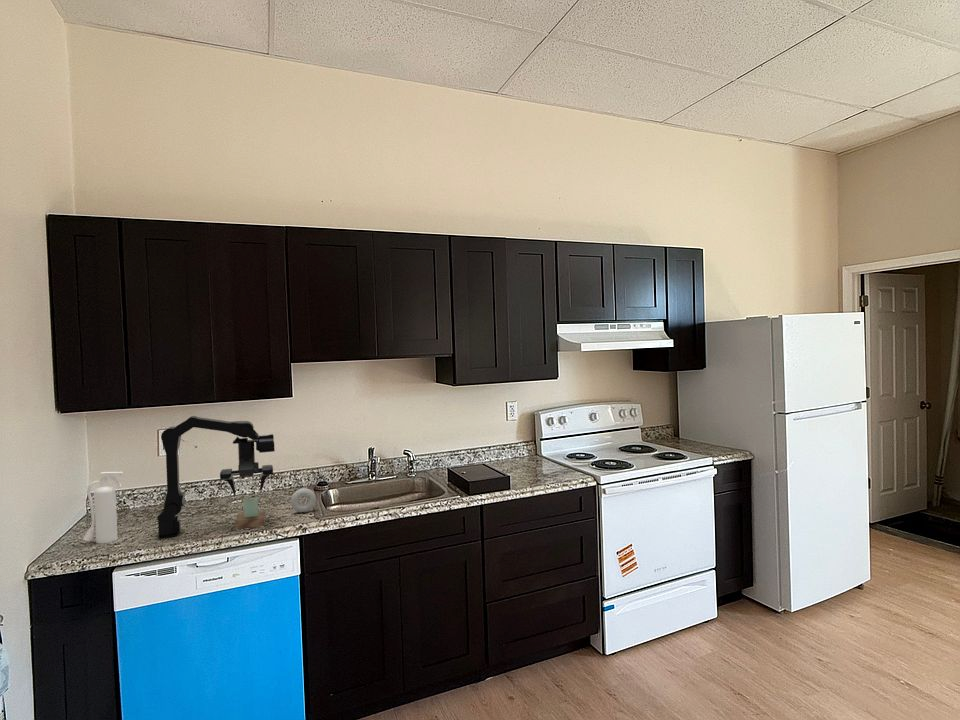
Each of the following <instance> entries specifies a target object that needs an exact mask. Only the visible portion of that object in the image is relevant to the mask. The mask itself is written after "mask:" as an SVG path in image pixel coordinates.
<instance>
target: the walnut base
mask: <svg viewBox="0 0 960 720" xmlns="http://www.w3.org/2000/svg"><path fill="white" fill-rule="evenodd" d="M266 518H267V517H266V509H264V510H258V516H254V517H247V518H244V512H240V513H239V512H238V513H237V515H236V518H235V526H234V527H235V530H236V529H243V530H246V529H245V528H251V529H254V528H253V527H259V528H261V527H260V526H264V527H265V525H264V524H266Z"/></svg>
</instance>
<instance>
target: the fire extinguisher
mask: <svg viewBox="0 0 960 720" xmlns="http://www.w3.org/2000/svg"><path fill="white" fill-rule="evenodd" d="M121 476H124V471H101V472H100V473H99V477H98V480H94V481H92V482H90V483H88V485H87V490H86V495H87V497H88V501H89V507H90V508H89V509H90V516H91V525H90V527H89V528H88V529H87V530H86V533H85V535H84V536H83V538H82V541H86V542H93V541H94V538H95V543H96V544H108V543H111V542H115V541H116V540H118V538H119V537H118V519H117V517H118V515H117V497H116V496H117V493H116V489H115V487H114V486H113V485H109V481H108V480H110V481H112V482H113V484H115V485H116V487H117V489H118V490H119V489H120V488H122V486H123V485H122V483H121V481H120V480H119V479H118V478H116V477H121ZM99 479H100V480H99ZM96 484H100V486H99V487H97V488H96V489H95V490H94V492H93V496H92V494H91V490H92V486H93V485H96Z"/></svg>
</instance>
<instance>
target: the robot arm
mask: <svg viewBox="0 0 960 720" xmlns="http://www.w3.org/2000/svg"><path fill="white" fill-rule="evenodd" d="M193 428H196V429H204V430H209V431H210V430H212V431H219V432H226V433H229V434H232V435H235V436H236V438H235V439H234V440H232V444H233V445H235V444H237V448H238V449H237V450H238V453H237V454H238V466H237V468H238V469H237V470H233V468H225V469H224V468H222V469H221V470H220V473H219V479H220V480H223V481H224V482H227V483H228V485H229V487H230V489H231V491H232V493H233V496H236V487H235V486H236V485H235V480H234V478H235V477H234V476H239V477H240V478H244V477H253V476H255V475H254V474H260V475H261V477H260V484H259V485H260V486H259V493H260V494H261V493H262V492H263V488H264V484H265V482H266V480H267V478H268V477H270V475H273V474H274V466H273V465H272V464H265V465H261V467H259V462H257V461H256V458H255V456H256V455H255V450H256V451H258V452H259V454H261V453H273V452H275V451H276V450H275V438H274V437H275V436H274V434H272V433H270V434H265V435H264V434H263V435H260V434H259V433H258V432H257V431H256V430H255V427H254V424H253V423H252V422H251V421H248V420H234V421H228V420H227V421H226V420H220V419H214V418H208V417H207V418H206V417H201V416H199V417H198V416H196V415H191V416H190V417H188V418H187V419H186V420H183V422H181V423H179V424H177V425H176V426H168V427H167V428H165V430H164V431H163V432H162V433H161V435H160V439H161V443H162V447H163V450H164V452H165V460H166V461H165V463H166V464H165V465H166V469H165V470H166V489H167V490H166V494H165V499H164V506H163V508H162V509H161V511H160V513H159V514H158V515H157V516H156V518H157V529H158V536H157V539H165V538H171V537H177V536H178V537H179V535H180V533H181V531H182V529H181V528H182V525H181V519H179V518H180V517H179V513H181V511H182V510H183V508H184V506H185V504H186V502H187V500H186V491H181V488H180V465H179V463H180V462H179V461H180V460H179V450H180V446H181V439H182V435H184V434H186V433H188V431H190V430H191V429H193ZM240 437H241V438H240ZM248 438H249V439H248Z"/></svg>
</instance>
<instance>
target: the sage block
mask: <svg viewBox="0 0 960 720" xmlns="http://www.w3.org/2000/svg"><path fill="white" fill-rule="evenodd" d="M258 498H259V497H251V498H250V497H249V498H244V499H243V501H242V503H243V507H242V508H243V513H244V518H247V517H254V516H258V511H259V503H258V502H259V500H258Z"/></svg>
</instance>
